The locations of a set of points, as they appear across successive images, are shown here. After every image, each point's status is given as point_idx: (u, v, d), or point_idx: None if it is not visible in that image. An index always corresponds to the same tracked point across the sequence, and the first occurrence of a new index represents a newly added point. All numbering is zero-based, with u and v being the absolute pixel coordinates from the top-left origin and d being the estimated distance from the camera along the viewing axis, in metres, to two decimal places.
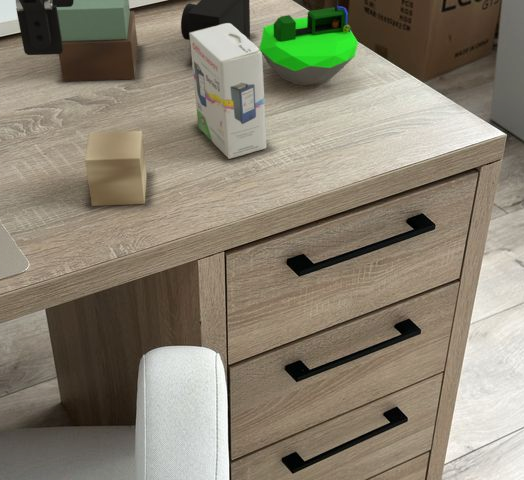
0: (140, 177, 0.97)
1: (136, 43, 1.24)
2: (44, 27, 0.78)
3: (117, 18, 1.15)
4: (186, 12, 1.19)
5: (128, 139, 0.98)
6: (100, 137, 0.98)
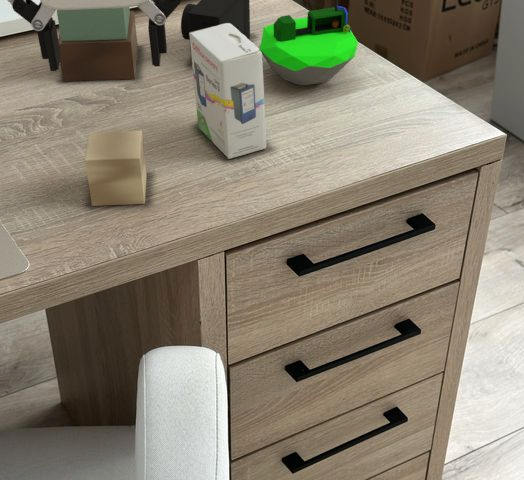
0: (140, 177, 0.97)
1: (136, 43, 1.24)
2: None
3: (117, 18, 1.15)
4: (186, 12, 1.19)
5: (128, 139, 0.98)
6: (100, 137, 0.98)
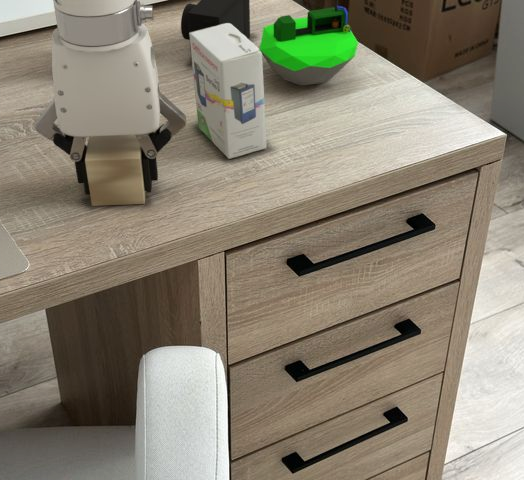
0: (140, 177, 0.97)
1: None
2: (76, 169, 0.98)
3: None
4: (186, 12, 1.19)
5: (128, 139, 0.98)
6: (100, 137, 0.98)
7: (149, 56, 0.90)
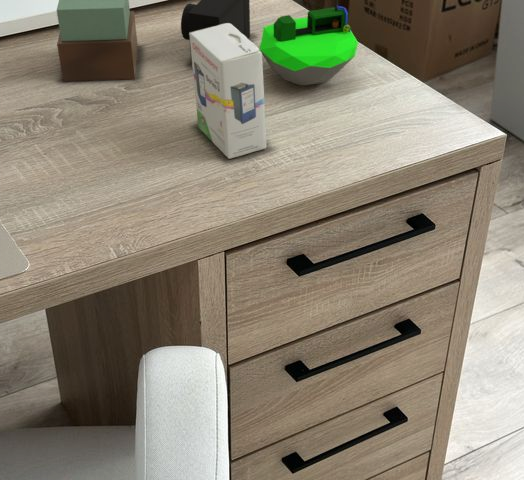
0: None
1: (136, 43, 1.24)
2: None
3: (117, 18, 1.15)
4: (186, 12, 1.19)
5: None
6: None
7: None
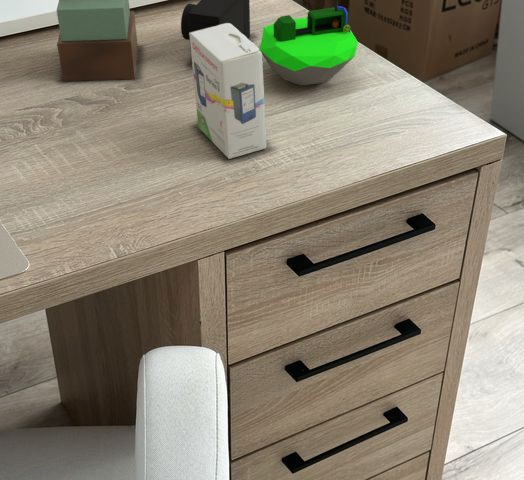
0: None
1: (136, 43, 1.24)
2: None
3: (117, 18, 1.15)
4: (186, 12, 1.19)
5: None
6: None
7: None
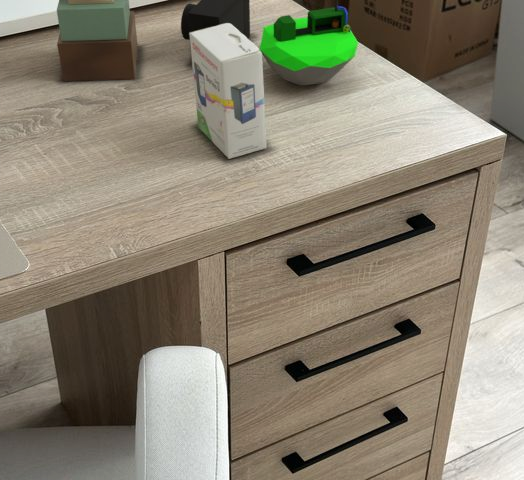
0: None
1: (136, 43, 1.24)
2: None
3: (117, 18, 1.15)
4: (186, 12, 1.19)
5: None
6: None
7: None
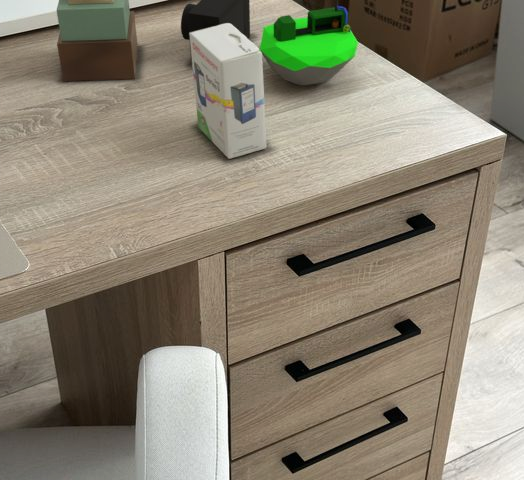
0: None
1: (136, 43, 1.24)
2: None
3: (117, 18, 1.15)
4: (186, 12, 1.19)
5: None
6: None
7: None
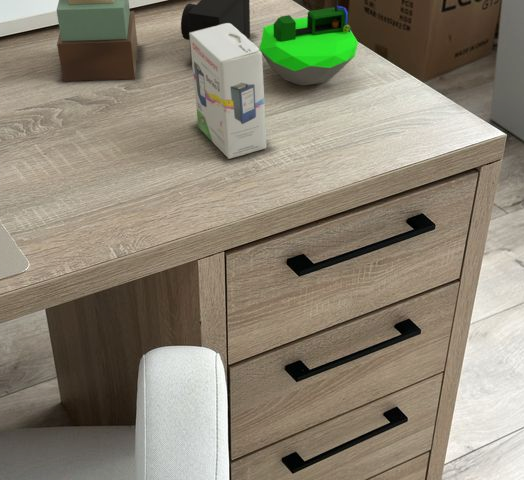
0: None
1: (136, 43, 1.24)
2: None
3: (117, 18, 1.15)
4: (186, 12, 1.19)
5: None
6: None
7: None
